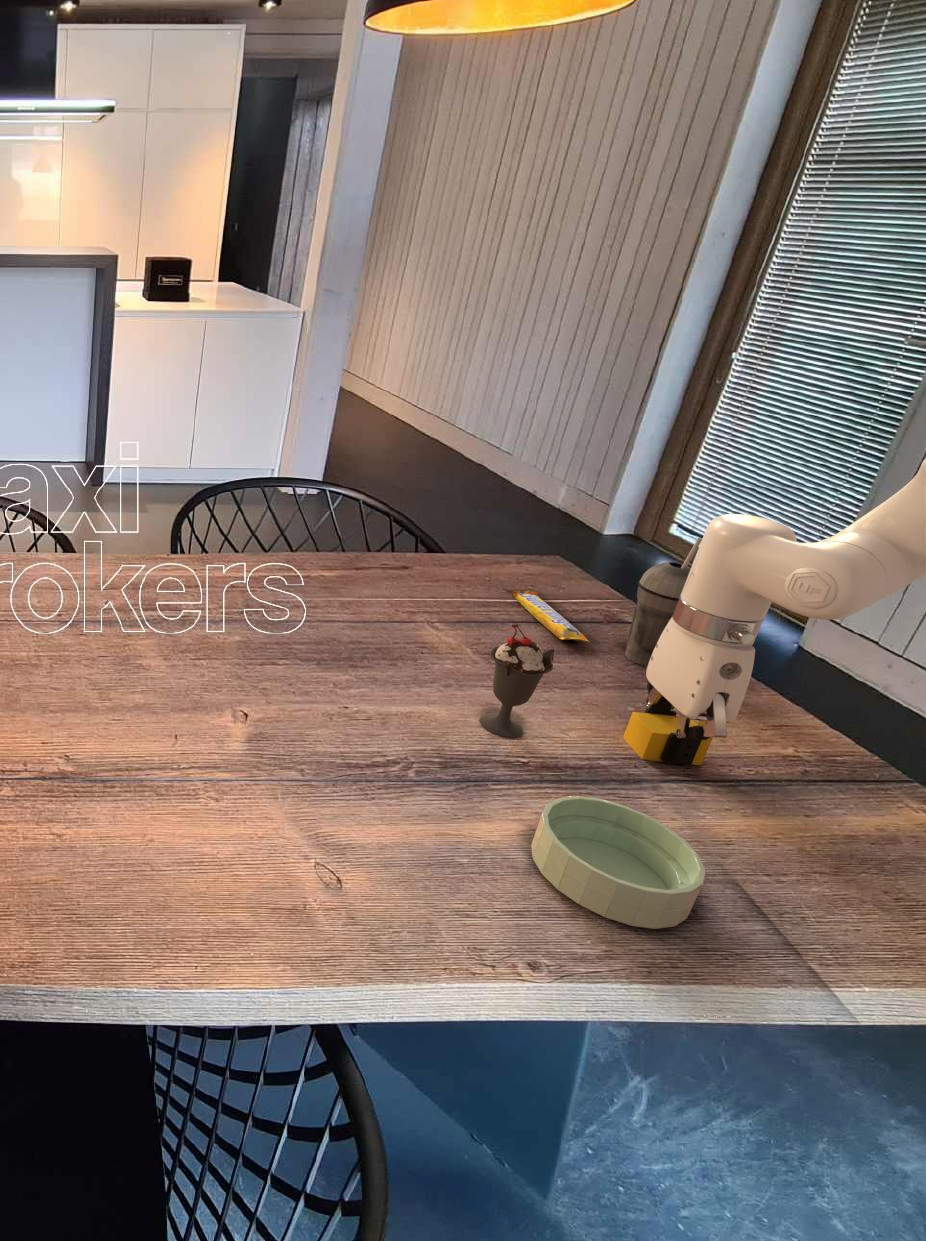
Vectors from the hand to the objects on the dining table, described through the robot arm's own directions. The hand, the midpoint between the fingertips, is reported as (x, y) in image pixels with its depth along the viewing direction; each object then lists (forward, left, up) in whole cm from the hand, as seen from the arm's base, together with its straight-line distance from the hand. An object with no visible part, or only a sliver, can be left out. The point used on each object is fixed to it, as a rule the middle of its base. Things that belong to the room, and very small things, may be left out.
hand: (663, 747), depth 101 cm
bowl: (+18, +24, 0) cm, 30 cm away
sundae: (+18, -2, -1) cm, 18 cm away
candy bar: (-1, -34, -1) cm, 34 cm away
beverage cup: (-10, -24, -1) cm, 26 cm away
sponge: (0, 0, -1) cm, 1 cm away
